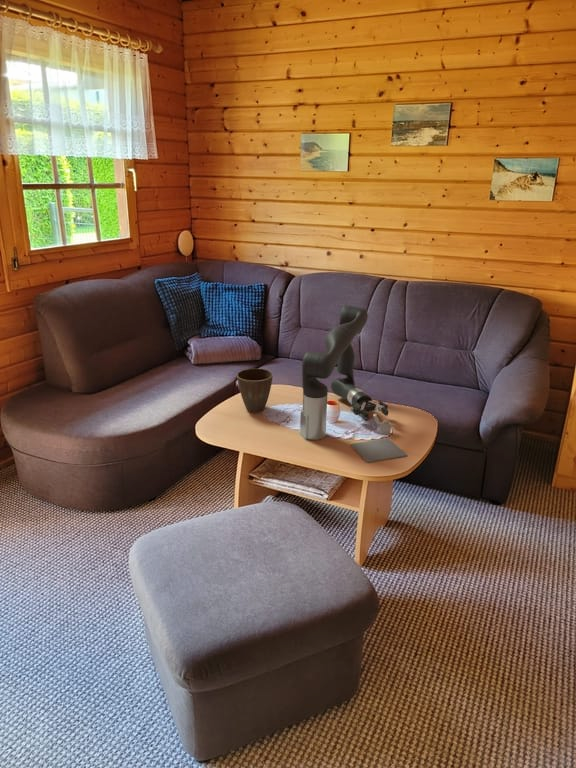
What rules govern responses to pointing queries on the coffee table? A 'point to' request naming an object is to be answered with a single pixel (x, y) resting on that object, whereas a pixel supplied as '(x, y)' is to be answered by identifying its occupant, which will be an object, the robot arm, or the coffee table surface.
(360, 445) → the mat
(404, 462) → the coffee table surface
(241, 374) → the plant pot
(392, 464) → the coffee table surface
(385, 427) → the lighter
